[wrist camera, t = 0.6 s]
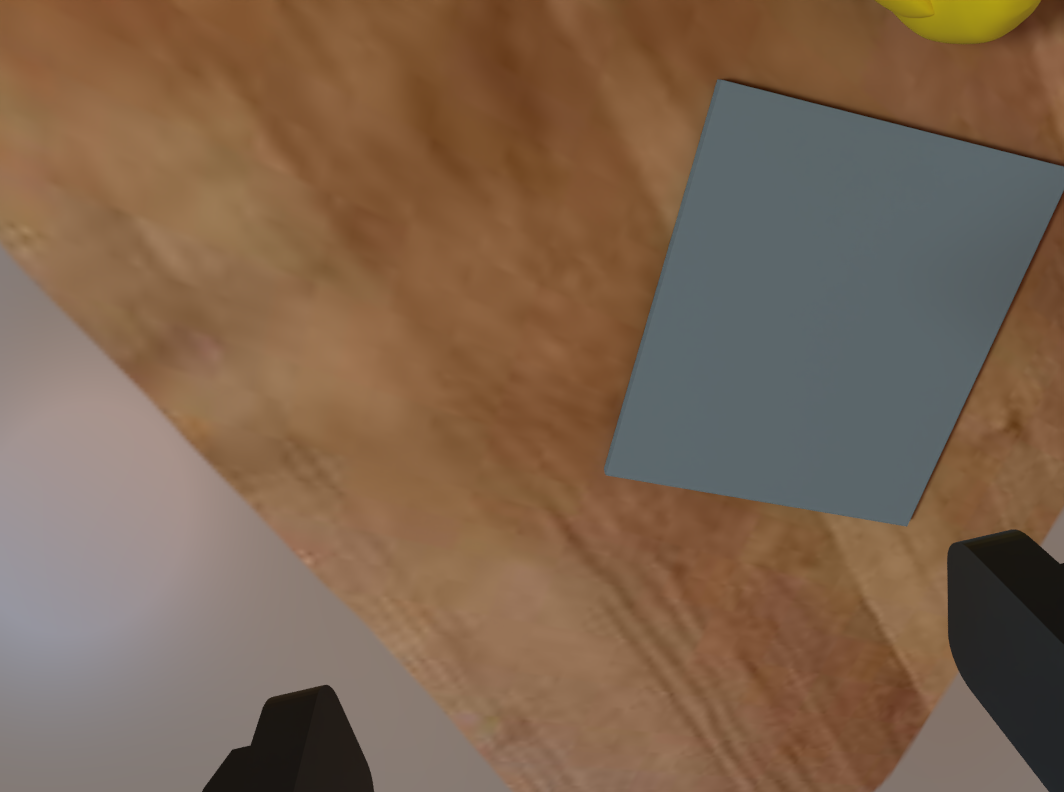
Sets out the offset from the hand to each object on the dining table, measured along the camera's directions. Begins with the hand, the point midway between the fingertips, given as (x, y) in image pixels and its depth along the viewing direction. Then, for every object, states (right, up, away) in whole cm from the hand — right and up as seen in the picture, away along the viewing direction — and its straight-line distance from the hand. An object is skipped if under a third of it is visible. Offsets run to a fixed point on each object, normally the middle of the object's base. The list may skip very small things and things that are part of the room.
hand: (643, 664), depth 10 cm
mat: (+12, +7, +26) cm, 29 cm away
